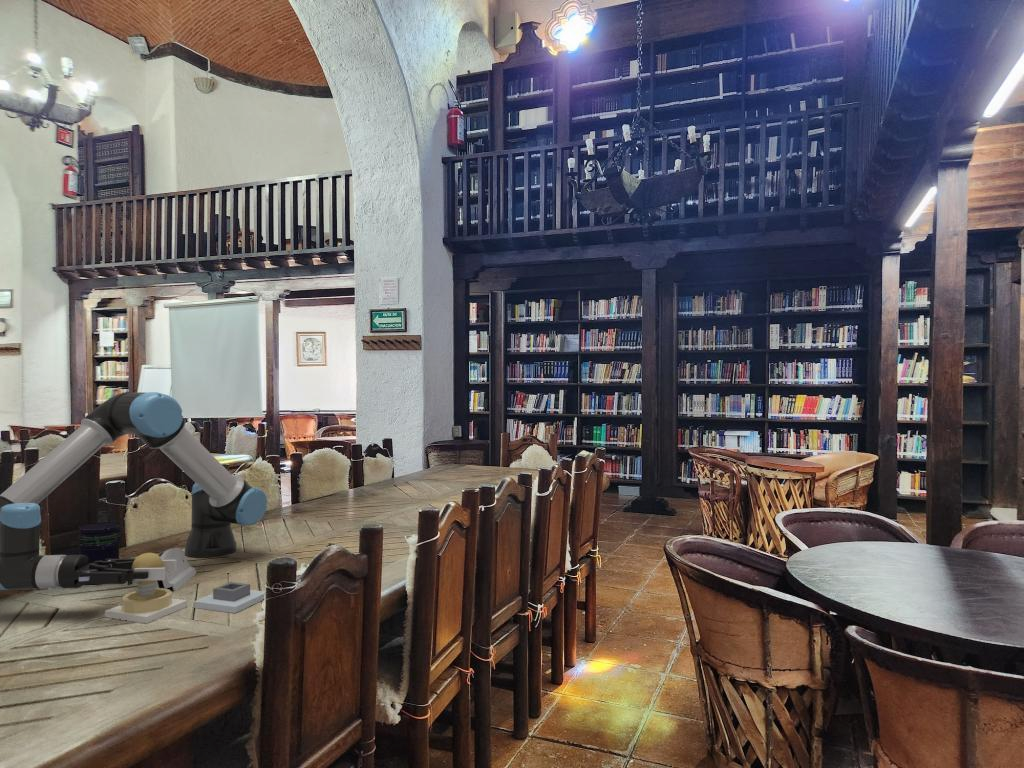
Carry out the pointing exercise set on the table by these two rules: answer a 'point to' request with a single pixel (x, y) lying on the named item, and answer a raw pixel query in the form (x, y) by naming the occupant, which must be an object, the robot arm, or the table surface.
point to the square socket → (230, 598)
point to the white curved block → (181, 573)
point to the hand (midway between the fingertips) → (170, 569)
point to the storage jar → (100, 541)
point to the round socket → (146, 606)
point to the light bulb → (147, 561)
